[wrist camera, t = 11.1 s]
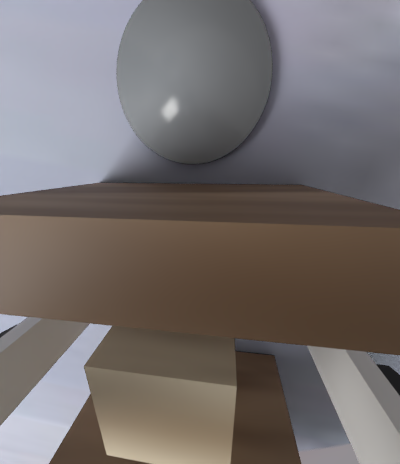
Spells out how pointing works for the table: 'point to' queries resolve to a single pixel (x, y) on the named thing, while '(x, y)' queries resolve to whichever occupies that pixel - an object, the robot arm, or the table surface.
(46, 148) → the table surface
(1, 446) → the table surface
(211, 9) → the grey round disc
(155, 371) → the block
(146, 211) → the brown and beige stand
